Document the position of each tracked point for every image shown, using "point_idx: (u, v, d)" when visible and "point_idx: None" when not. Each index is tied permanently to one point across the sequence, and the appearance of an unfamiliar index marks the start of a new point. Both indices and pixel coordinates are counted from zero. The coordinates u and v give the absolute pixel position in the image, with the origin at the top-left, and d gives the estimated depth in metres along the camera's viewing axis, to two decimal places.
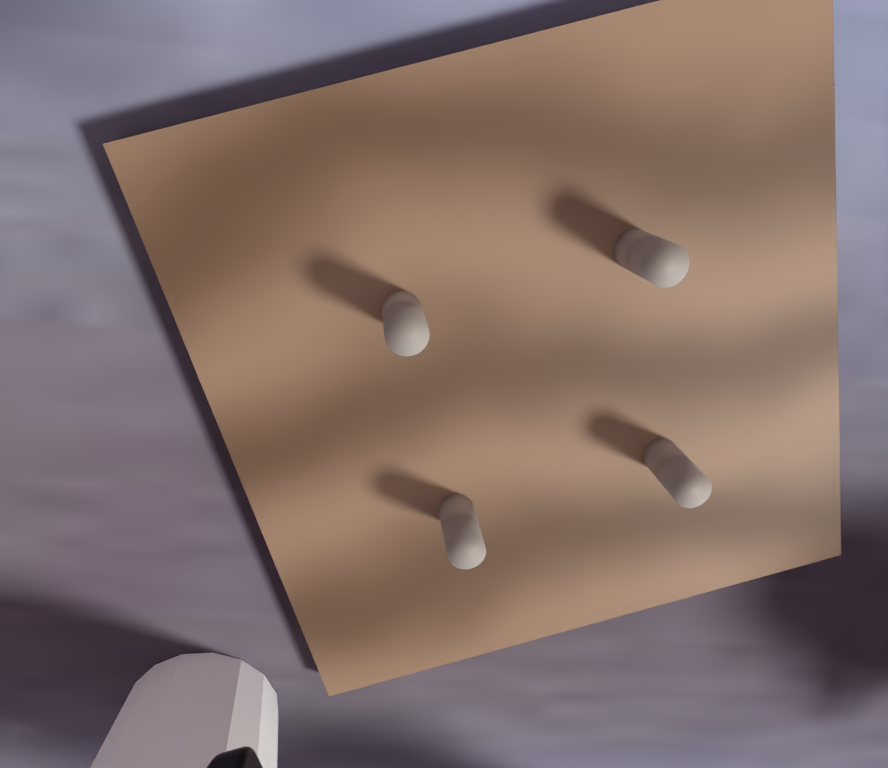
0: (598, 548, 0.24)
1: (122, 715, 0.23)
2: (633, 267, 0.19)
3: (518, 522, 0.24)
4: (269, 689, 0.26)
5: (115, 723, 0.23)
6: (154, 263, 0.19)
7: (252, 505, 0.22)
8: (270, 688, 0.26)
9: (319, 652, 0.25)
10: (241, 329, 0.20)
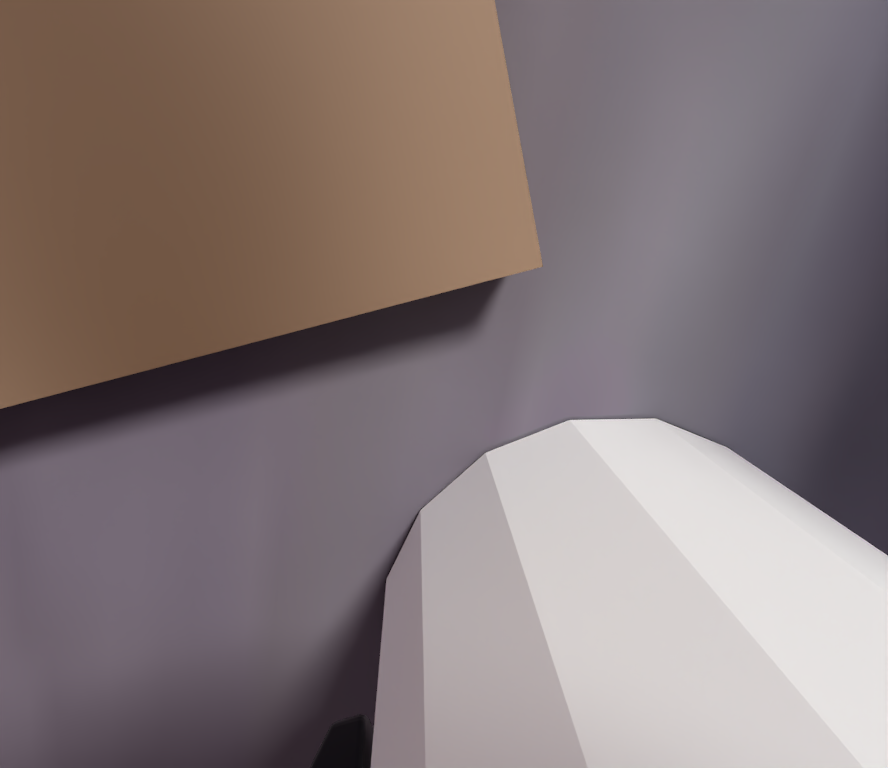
0: None
1: None
2: None
3: None
4: (527, 447, 0.08)
5: None
6: None
7: None
8: (530, 443, 0.08)
9: (322, 293, 0.06)
10: None
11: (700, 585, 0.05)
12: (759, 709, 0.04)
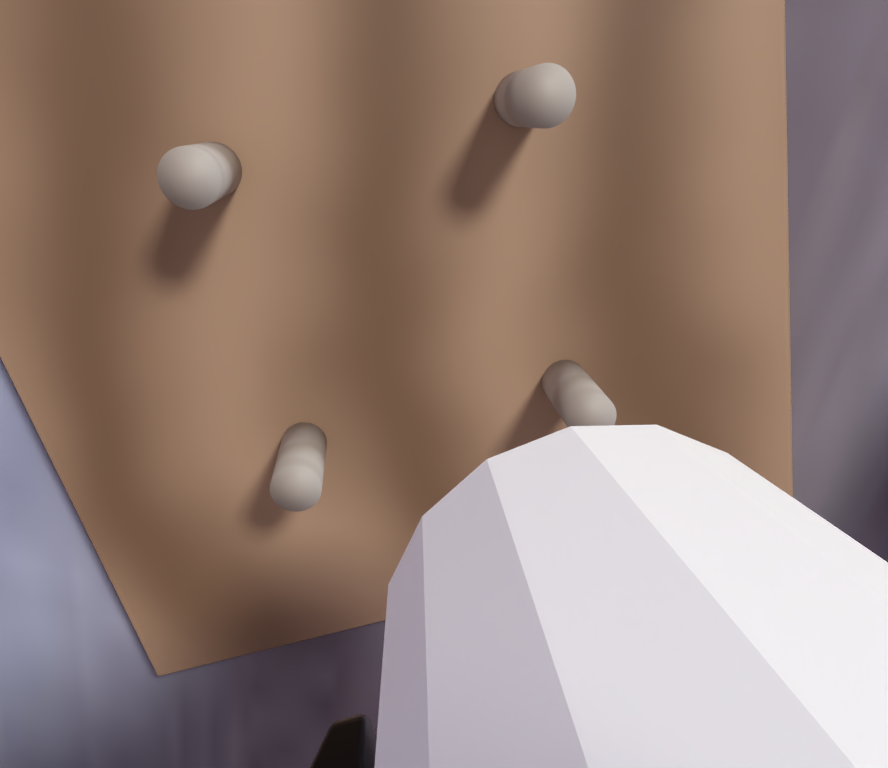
0: (659, 185, 0.17)
1: None
2: (214, 202, 0.14)
3: (596, 302, 0.18)
4: (528, 454, 0.08)
5: None
6: (262, 648, 0.21)
7: None
8: (532, 450, 0.08)
9: None
10: (327, 586, 0.20)
11: (702, 594, 0.05)
12: (762, 720, 0.04)
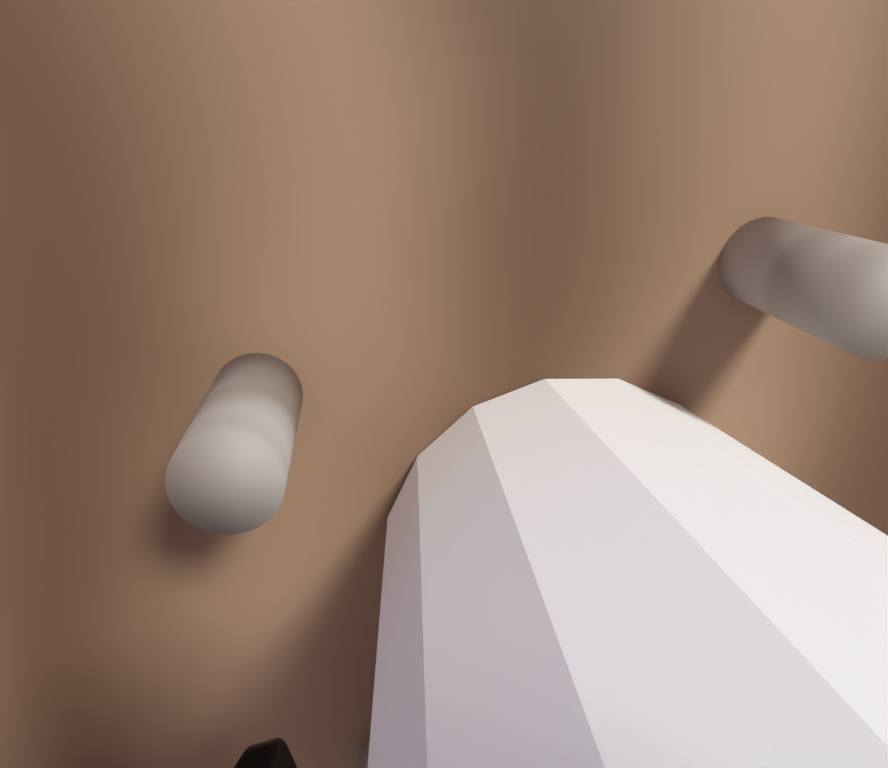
0: None
1: None
2: None
3: None
4: (508, 400, 0.09)
5: None
6: None
7: None
8: (511, 398, 0.10)
9: None
10: None
11: (635, 483, 0.06)
12: (666, 551, 0.05)
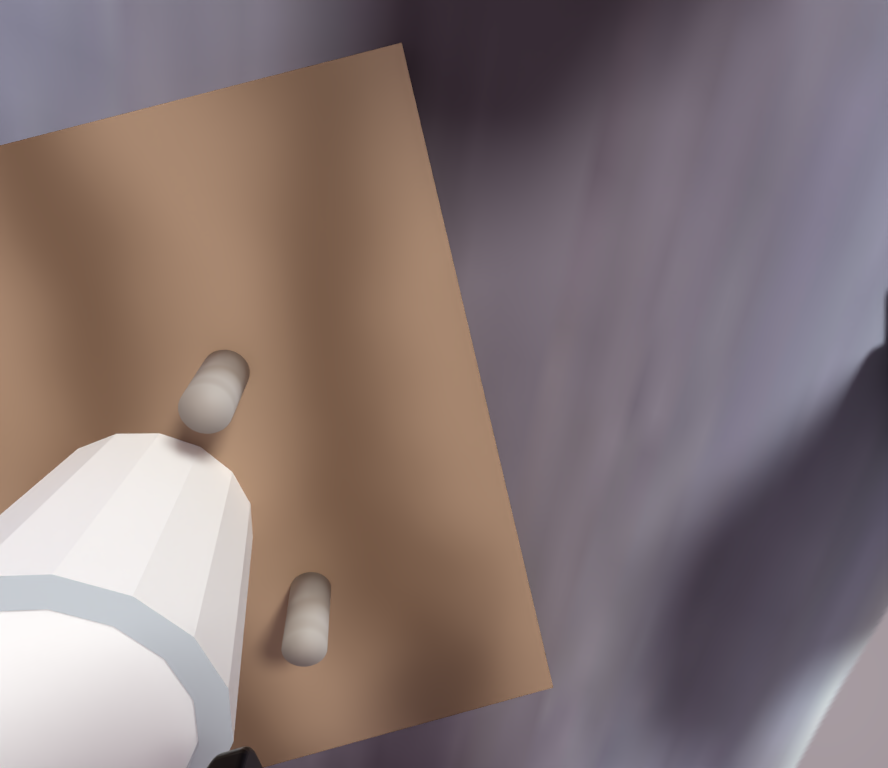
0: (370, 429, 0.19)
1: None
2: None
3: (329, 525, 0.20)
4: (90, 446, 0.18)
5: None
6: None
7: (306, 754, 0.23)
8: (92, 444, 0.18)
9: (491, 697, 0.23)
10: None
11: (54, 492, 0.15)
12: (19, 520, 0.13)
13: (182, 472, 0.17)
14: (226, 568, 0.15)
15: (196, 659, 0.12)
